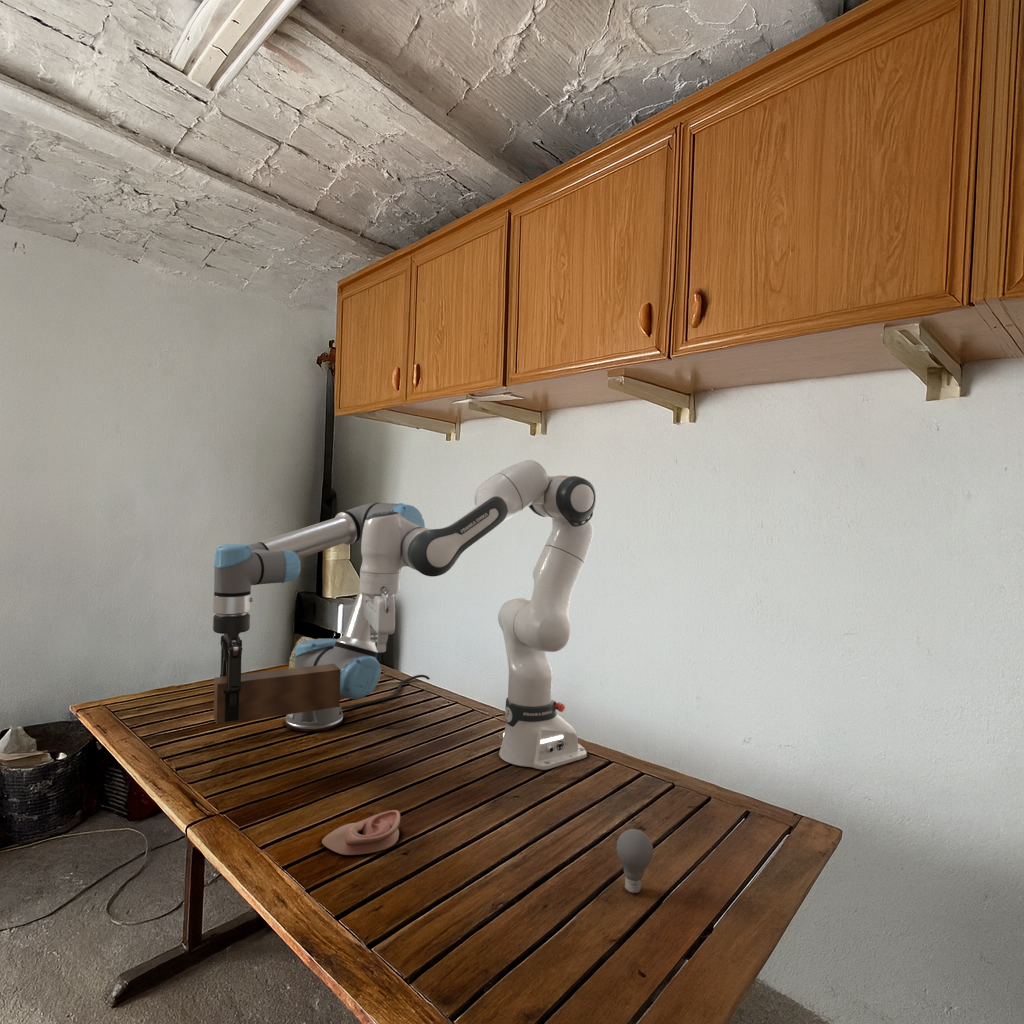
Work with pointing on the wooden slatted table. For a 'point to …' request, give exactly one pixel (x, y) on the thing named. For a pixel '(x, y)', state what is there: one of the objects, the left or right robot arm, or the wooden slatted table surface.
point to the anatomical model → (365, 835)
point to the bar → (281, 692)
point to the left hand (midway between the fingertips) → (229, 715)
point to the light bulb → (634, 857)
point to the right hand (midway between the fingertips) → (377, 646)
